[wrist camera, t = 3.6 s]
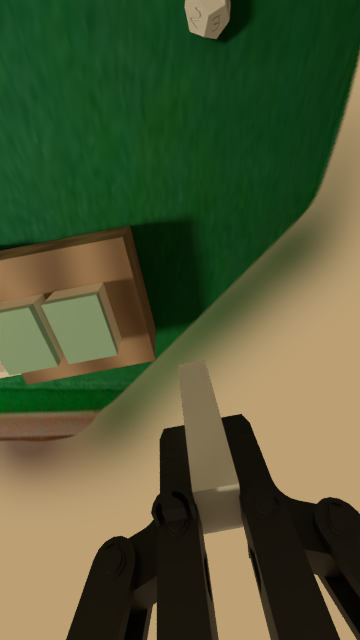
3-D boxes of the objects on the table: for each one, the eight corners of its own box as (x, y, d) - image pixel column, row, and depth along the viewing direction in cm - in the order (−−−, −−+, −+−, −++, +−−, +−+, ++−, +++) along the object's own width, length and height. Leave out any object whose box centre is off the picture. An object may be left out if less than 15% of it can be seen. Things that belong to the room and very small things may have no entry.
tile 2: (77, 346, 26) (68, 364, 23) (54, 291, 23) (41, 305, 20) (121, 337, 26) (117, 355, 23) (103, 282, 23) (96, 294, 20)
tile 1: (24, 356, 26) (9, 375, 23) (-6, 302, 23) (-27, 317, 20) (67, 348, 26) (57, 366, 23) (43, 293, 23) (28, 307, 20)
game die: (179, -11, 20) (182, -41, 17) (225, -19, 20) (236, -50, 17) (185, 50, 22) (189, 31, 19) (228, 43, 22) (238, 23, 19)
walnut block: (51, 348, 34) (27, 384, 28) (2, 250, 28) (-42, 268, 21) (155, 328, 34) (155, 360, 27) (130, 225, 28) (122, 237, 21)
